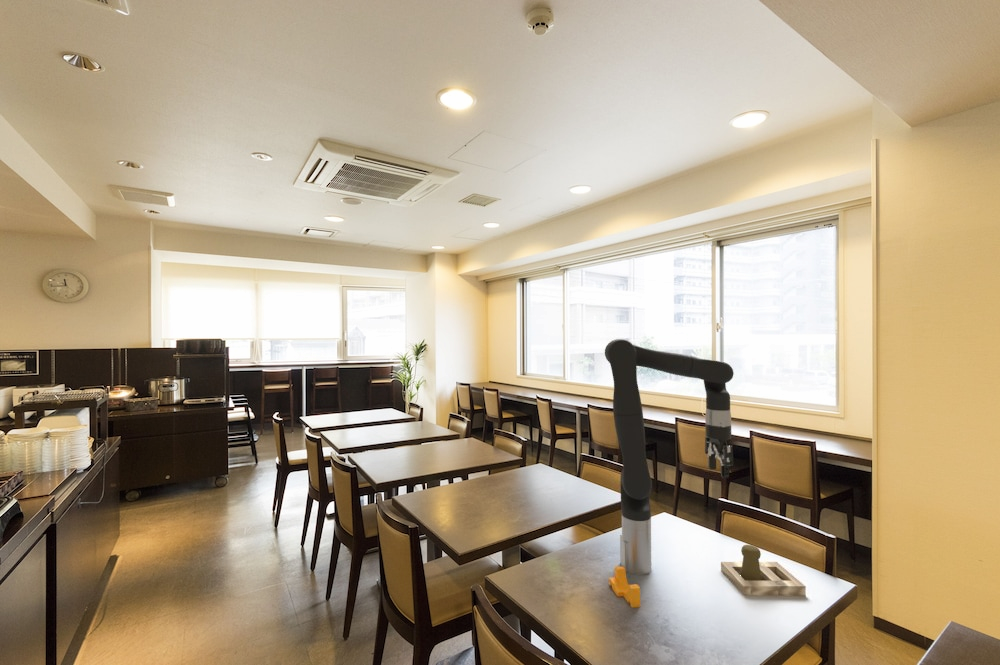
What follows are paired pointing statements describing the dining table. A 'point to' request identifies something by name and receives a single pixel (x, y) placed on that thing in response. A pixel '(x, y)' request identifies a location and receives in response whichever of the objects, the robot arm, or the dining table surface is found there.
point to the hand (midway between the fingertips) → (718, 473)
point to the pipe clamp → (625, 587)
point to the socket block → (765, 580)
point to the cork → (751, 563)
